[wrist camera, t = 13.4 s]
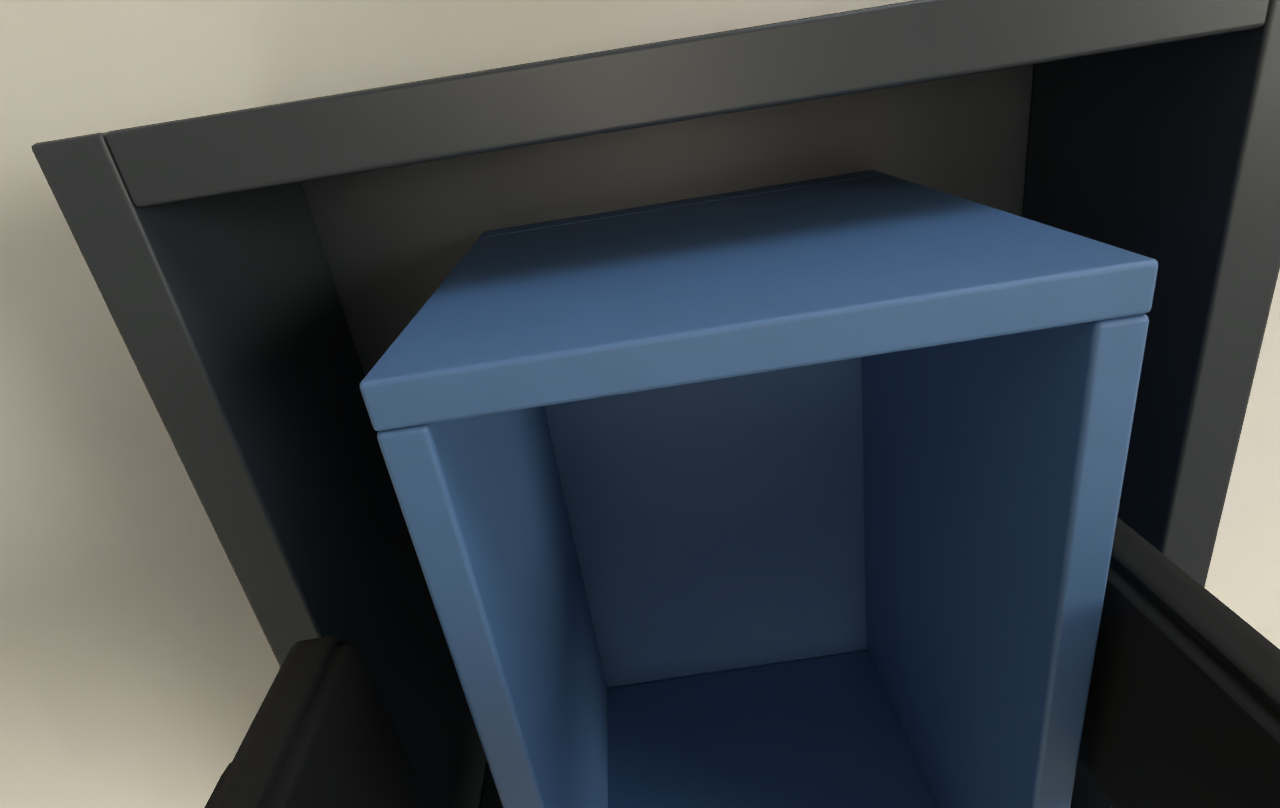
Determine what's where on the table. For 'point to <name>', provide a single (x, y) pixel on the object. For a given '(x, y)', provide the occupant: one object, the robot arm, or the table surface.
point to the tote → (640, 176)
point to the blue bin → (772, 495)
